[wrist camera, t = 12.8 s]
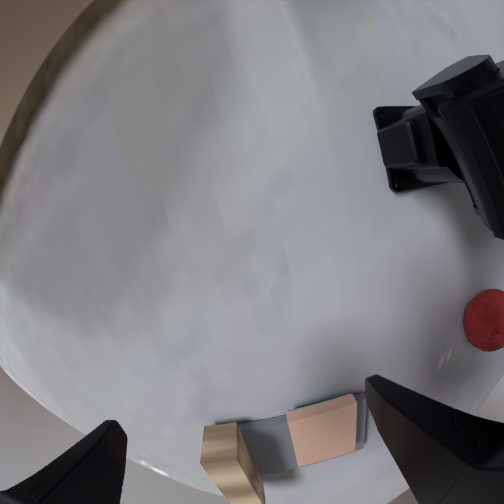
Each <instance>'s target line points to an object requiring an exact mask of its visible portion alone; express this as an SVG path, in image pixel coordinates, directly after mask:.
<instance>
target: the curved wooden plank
mask: <svg viewBox="0 0 504 504" xmlns="http://www.w3.org/2000/svg"><path fill="white" fill-rule="evenodd" d="M200 464H201V465H202V467H203V468H204V469H205V471H206V472H207V474H208V475H209V476H210V478H211V479H212V480H213V482H214V483H215V484H216V486H217V487H218V488H219V490H220V491H221V492H222V493H223V495H224V496H225V497H226V498H227V500H228V501H229V502H230V503H231V504H266V503H265V494H264V485H263V480H262V478H261V476H260V473H259V471H258V469H257V467H256V465H255V463H254V461H253V459H252V456H251V454H250V452H249V450H248V448H247V445H246V443H245V441H244V439H243V436H242V434H241V432H240V429H239V427H238V425H237V422H234V423H227V424H220V425H211V426H204V433H203V442H202V451H201V461H200Z"/></svg>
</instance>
